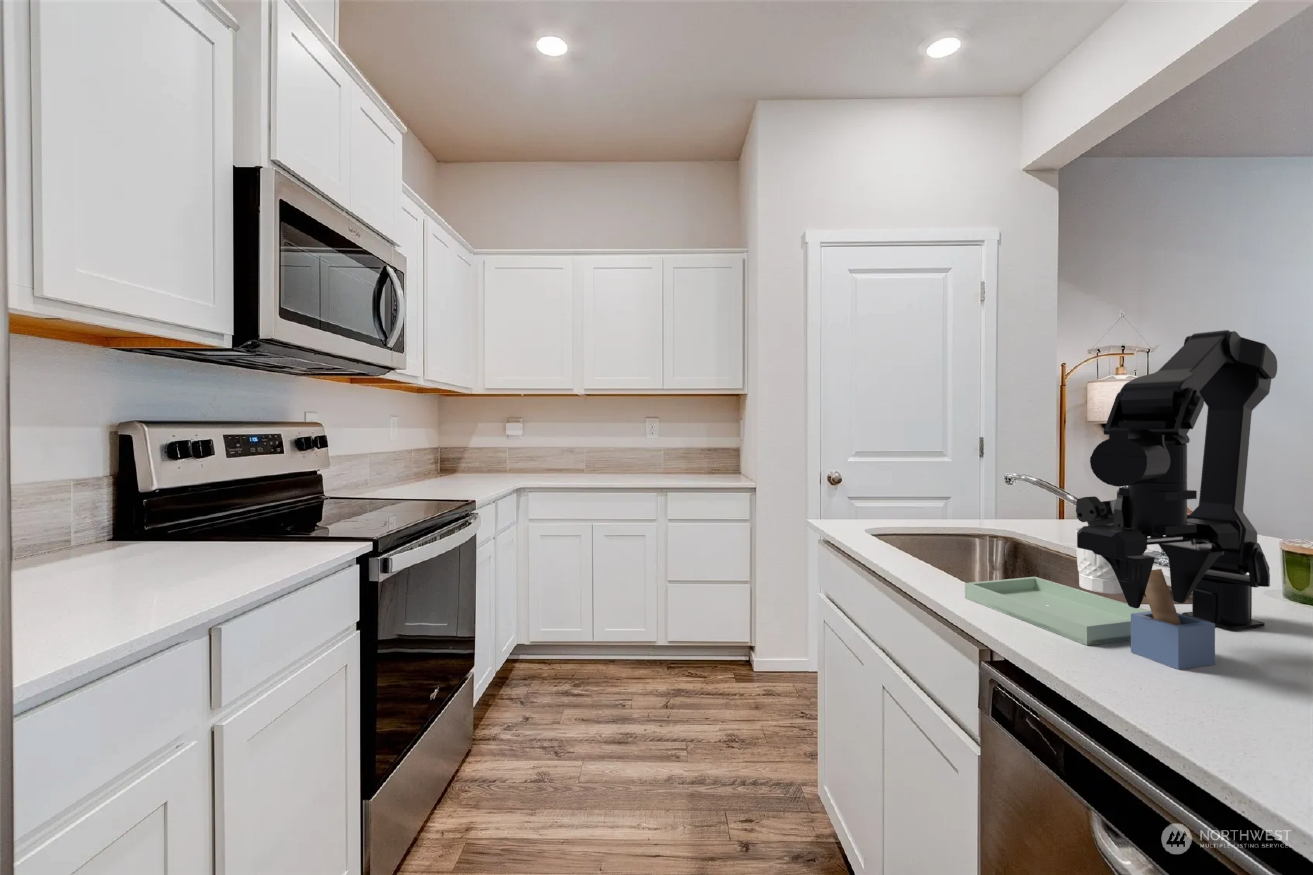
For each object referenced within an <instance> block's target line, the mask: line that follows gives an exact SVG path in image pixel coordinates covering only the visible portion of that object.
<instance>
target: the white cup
mask: <svg viewBox="0 0 1313 875" xmlns="http://www.w3.org/2000/svg"><path fill="white" fill-rule="evenodd" d="M1081 528H1082V527H1076V528H1075V530H1074V533H1075V534H1074V536H1075V553H1076V564H1077V571H1078V582H1079V584H1078V585H1079V587H1080V588H1082V589H1083V590H1085V591H1086V590H1087V591H1091V592H1095V593H1101V594H1110V595H1111V594H1112V595H1119V594H1121V595H1122V594H1123V591H1122V589H1121V586H1120V584H1119V582H1118V579H1117V577H1116V575H1115V573H1114V571H1113V569H1112V567H1111V565H1110V564H1109V563H1108V562H1107V561H1106V560H1105V559H1104V558H1103V557H1102V556H1101V555H1097V554H1094V553H1093V551H1090V550H1086V549H1081V548H1077V532H1078V531H1079V530H1080V529H1081ZM1123 595H1124V594H1123Z"/></svg>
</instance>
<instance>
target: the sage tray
mask: <svg viewBox="0 0 1313 875" xmlns="http://www.w3.org/2000/svg"><path fill="white" fill-rule="evenodd" d="M964 598H965V599H967V600H970V601H972V602H974V603H976V604H979V605H982V606H985V607H987V608H990V609H992V610H995V611H997V612H1000V613H1002V614H1005V615H1008V616H1010V617H1013V618H1015V619H1018V620H1021V621H1023V622H1025V623H1028V624H1031V625H1033V626H1036V627H1039V628H1041V629H1043V630H1047V631H1048V632H1051V633H1053V634H1056V635H1059V636H1062V637H1064V638H1067V639H1069V640H1072V641H1075V642H1076V643H1080V644H1082V645H1085V646H1094V645H1102V644H1109V643H1117V642H1124V641H1125V642H1126V641H1127V642H1128V641H1131V613H1140V612H1149V611H1151V609H1147V608H1142V607H1141V606H1140V607H1139V608H1133V607H1130V606H1129V605H1128V603H1127V602H1123V601H1121V600H1120V601H1119V600H1116V599H1112V598H1109V597H1105V596H1103V595H1099V594H1096V593H1092V592H1088V591H1086V590H1081V589H1079V588H1075V587H1072V586H1069V585H1064V584H1061V583H1057V582H1054V581H1051V580H1048V579H1044V578H1042V577H1038V576H1029V577H1018V578H1007V579H997V580H995V579H994V580H985V581H984V580H983V581H974V582H973V581H972V582H965V583H964ZM1046 605H1049V606H1046Z"/></svg>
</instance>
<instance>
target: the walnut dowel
mask: <svg viewBox="0 0 1313 875" xmlns="http://www.w3.org/2000/svg"><path fill="white" fill-rule="evenodd" d="M1144 595H1145V596H1146V600H1147V602H1148V606H1149V610H1150V611H1151V612H1152V615H1153V618H1154V619H1157V620H1161V621H1164V622H1167V623H1171V624H1174V625H1181V623H1180V620H1179V617H1178V615H1177V613H1178V612H1177V610H1176V606H1175V604H1174V603H1175V602H1174V600H1173V597H1172V594H1171V592H1170V588H1169V587H1168V584H1167V580H1166V578H1165V576H1164V572H1163V570H1162V568H1157V569H1152V570H1151V574H1150V577H1149V580H1148V584H1147V587H1146V591H1145V594H1144Z"/></svg>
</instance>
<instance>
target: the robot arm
mask: <svg viewBox="0 0 1313 875" xmlns="http://www.w3.org/2000/svg"><path fill="white" fill-rule="evenodd" d="M1277 374H1278V360H1277V356H1276V354H1275V353H1274V352H1273V351H1272V350H1271V349H1270V347H1269V345H1267V344H1266V343H1263V342H1260V341H1256V340H1252V339H1249V338H1245V337H1242V336H1240V334H1239V333H1238V332H1237V331H1235V330H1233V331H1231V330H1228V329H1224V330H1223V329H1222V330H1215V331H1206V332H1196V333H1193V334H1191V335H1188V336H1186V337H1185V339H1184V342H1183V345H1182V346H1181V347H1180V349H1179V350H1177V352H1176V353H1175V354H1173V355H1172V356H1171V357H1170V358H1169V360H1167V361H1166V363H1164V364H1163V365H1162V367H1160V368H1159V369H1158V370H1157V371H1155V372H1154V373H1150V374H1149V373H1148V374H1146V375H1142V376H1138V377H1137V376H1136V377H1135V378H1133V379H1132V380H1129V381H1127V382H1126V383H1124V384H1123V386H1122V387H1121V388H1120V391H1118V393H1117V394H1116V396H1115V399H1114V401H1113V404H1112V407H1111V409H1110V412H1109V415H1108V418H1107V420H1106V423H1105V426H1104V429H1103V434H1104V436H1108V439H1105V440H1103V441H1101V442H1100V443H1098V444H1097V445H1096V447H1095V448H1094V449H1093V451H1092V453H1091V455H1090V457H1089V458H1090V459H1089V464H1090V469H1091V470H1092V473H1093V474H1094V476H1096V478H1097V479H1098V480H1100V481H1101V482H1102V483H1104V484H1107V485H1109V486H1113V487H1118V489H1117V490H1116V499H1112V500H1111V499H1110V500H1105V501H1104V500H1103V501H1101V500H1100V499H1099V498H1098V496H1096V495H1095V496H1084V497H1079V498H1076V506H1075V513H1076V518H1077V519H1078V521H1079V522H1081V523H1087V525H1083V526H1082V527H1080V528H1081V529H1080V530H1079V531H1078V532H1077V548H1081V549H1086V550H1090V551H1093V553H1094V554H1097V555H1101V556H1102V557H1103V558H1104V559H1105V560H1106V561H1107V562H1108V563H1109V564H1110V565H1111V567H1112V569H1113V571H1114V573H1115V575H1116V577H1117V579H1118V582H1119V584H1120V586H1121V589H1122V591H1123V595H1124V598H1125V601H1126V604H1128V605H1129V606H1130V607H1133V608H1139V607H1140V608H1141V606H1142V605H1141V604H1142V603H1143V600H1144V597H1145V595H1146V594H1145V591H1146V587H1147V584H1148V580H1149V577H1150V574H1151V570H1153V567H1154V562H1155V560H1156V557H1154V556H1151V555H1145V552H1146V550H1148V545H1158V547H1159V548H1160V549H1161V550H1162V551H1163V552H1164V554H1165V555H1166V557H1167V559H1168V564H1169V575H1170V588H1171V596H1172V600H1173V602H1174V603H1178V604H1185V603H1186V602H1187V600H1188V599H1189V597H1190V596H1192V598H1191V600H1192V603H1191V604H1192V607H1191V608H1192V611H1186V612H1181V614H1183V615H1187V616H1190V617H1194V618H1197V619H1201V620H1204V621H1208V622H1211V623H1215V627H1217V628H1221V629H1225V630H1230V631H1235V630H1245V629H1254V628H1260V627H1265V624H1266V623H1265V622H1264V621H1261V620H1257V619H1253V618H1252V617H1253V616H1252V614H1253V613H1252V608H1253V607H1252V606H1253V603H1252V602H1253V600H1252V599H1253V597H1252V596H1253V595H1252V594H1253V593H1252V590H1253V589H1252V588H1255V589H1256V588H1259V587H1261V588H1262V587H1264V588H1265V587H1267V588H1268V587H1270V586H1271V578H1270V577H1271V574H1270V566H1269V563H1268V561H1267V559H1266V555H1265V554H1264V552H1263V548H1262V547H1261V544H1260V543H1258V532H1257V530H1256V528H1255V527H1254V526H1253V524H1252V523H1251V522H1250V520H1249V518H1248V517H1247V516H1246V514H1245V513H1244V505H1245V504H1244V503H1245V492H1246V483H1247V482H1246V481H1247V472H1248V471H1247V470H1248V469H1247V468H1248V467H1247V466H1248V458H1249V447H1250V436H1251V434H1250V433H1251V426H1252V425H1251V422H1252V414H1253V410H1255V409H1256V408H1257V407H1258V405H1259V404H1261V402H1262V401H1263V400H1264V399H1266V397H1267V396H1268V395H1269V394H1270V389H1271V383H1272V380H1274V379H1275V378H1276V376H1277ZM1204 405H1206V406H1207V412H1206V413H1207V415H1206V424H1205V425H1206V426H1205V437H1204V445H1203V446H1204V447H1203V457H1202V465H1201V466H1202V468H1201V478H1200V487H1199V488H1200V489H1199V499H1198V498H1197V495H1198V494H1197V492H1198V491H1197V490H1193V489H1188V444H1189V443H1190V441H1191V439H1190V437H1189V435H1188V433H1189V431H1190V430H1193V429H1194V427H1195V425H1196V423H1197V422H1198V419H1199V416H1200V414H1201V412H1202V410H1203V408H1204ZM1197 499H1198V500H1199V501H1198V506H1196V508H1195V509H1193V511H1192V512H1191V513H1189V514H1188V500H1197ZM1191 594H1192V595H1191Z"/></svg>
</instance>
